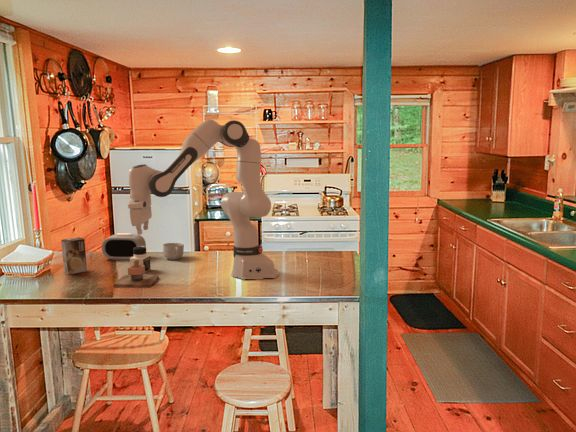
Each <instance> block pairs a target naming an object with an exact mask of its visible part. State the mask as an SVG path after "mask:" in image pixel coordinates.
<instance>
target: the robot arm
mask: <svg viewBox="0 0 576 432" xmlns="http://www.w3.org/2000/svg"><path fill="white" fill-rule="evenodd" d="M217 143H220V144H222V145H223V146H226V147H229V148H235V149H236V152H237V153H236V154H237V156H236V168H235V169H236V170H235V179H236V181H237V182H238V183H240V185H241V186H242V188H243V192H239V191H231V192H227V193H225V194H224V195H223V196H222V198H221V201H220V206H221V209H222V211H223V212H224V213H225V214H226V215H227V217H228V218H229V220H230V222H231V225H232V230H233V240H234V241H233V242H234V243H233V248H232V249H233V250H232V254H233V266H232V271H231V274H230V275H231V276H232V277H233V276H234V278H236V277H238V278H237V279H240V278H241V279H240V280H242V279H256V280H264V279H263V278H274V279H276V278H275V277H277V276H278V275H279V276H280V271H279V270H278V269H276V268H275V264H274V261H273V260H272V259H271V258H270V257H269V256H267V255H266V254H264V253H263V251H264V248H263V246H262V245H260V244H259V230H258V228H257V226H256V225H255V224H253V223H252V221H251V220H250V218H262V217H267V216H268V215H269V214H270V212H271V209H272V202H271V200H270V198H269V196H268V195H267V194H266V193H265V192H264V190H263V186H262V182H261V163H262V152H261V149H262V148H261V145H260V143H259V141H258V140H257V139H254V138H250V135H249V133H248V131H247V129H246V127H245V125H244V124H243V123H242V122H241V121H238V120H229V121H227V122H226V123H225V124H222V125H221V124H219V123H218V122H217V121H215V120H213V119H206V120H204V121H203V122H201V123H200V124H199V125H198V126H197V127H195V128H194V129H193V130H192V131H191V132H190V133H189V134H188V135H187V136H186V138H185V139H184V141H183V143H182V144H181V149H180V153H179V154H178V155H177V157H176V158H175V160H174V161H173V162H172V163H171V164H170V165H169V166H168V167H167V168H166V169H165V170H164V171H161V170H157V169H155V168H152V167H150V166H149V165H147V164H146V163H145V164H143V163H142V164H137V165H134V166H132V167H130V169H129V170H128V186H129V191H130V193H129V202H128V204H127V209H129V217H130V219H129V220H130V223H131V226H132V227H135V229H136V232H137V233H136V235H141V236H142V234H143V231H148V230H149V220H150V219H151V218H152V216H153V215H152V207H151V206H152V195H151V193H152V194H153V195H154V196H156V197H159V198H163V197H164V198H165V197H168V196H169V195H170V194H171V193H172V192H173V191H174V188H175V185H176V182H177V181H178V179H179V178H180V177H181V176H182V175H183V174H184V173H185V172H186V171H187V170H188V169H189V168H190V166H191V165H192V164H194V163H195V162H197V161H198V160H199V159H201V158H202V157H203V156H205V155H206V154H207V153H208V152H209V151H210V150H211V149H212V148H213V146H214V145H215V144H217ZM142 225H143V226H142ZM142 228H143V229H142ZM279 276H278V277H279ZM278 277H277V278H278Z"/></svg>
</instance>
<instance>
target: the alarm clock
mask: <svg viewBox="0 0 576 432" xmlns="http://www.w3.org/2000/svg"><path fill="white" fill-rule="evenodd" d="M101 243H102V244H101V252H102V254H103V256H104V257H105V258H107V259H110V260H111V261H130V258H131V257H133V256H134V255H133V248H134V247H137V246H144V247H146V248H147V244H146V240H145V238H144V237H143V236H142V234H141V235H138V234H137V233H135V234H134V233H133V234H132V233H130V232H129V233H127V232H126V233H123V232H121V233H119V232H118V233H115V234H112V235H110V236H109V237H107V238H105V239H104V240H103V241H102V242H101Z"/></svg>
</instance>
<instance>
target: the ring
mask: <svg viewBox="0 0 576 432" xmlns="http://www.w3.org/2000/svg"><path fill="white" fill-rule="evenodd" d="M144 272H145V265H139V268H134V267H133V265H131V266H129V267H127V275H142V274H145V273H146V272H145V273H144Z"/></svg>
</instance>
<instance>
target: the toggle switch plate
mask: <svg viewBox="0 0 576 432" xmlns="http://www.w3.org/2000/svg"><path fill="white" fill-rule="evenodd" d="M133 267H134V268H139V260H133ZM143 274H144V273H143ZM143 274H142V275H128V274H127V275H126V274H125V275H123V276H121V278H119V279H118V280H117V281H116V282H114V283H113V287H114V288H151V287H152V286H154V284H155V283H156V282H157V281H158V280H159V278H160V275H155V274H154V275H153V274H152V275H149V274H148V275H143Z"/></svg>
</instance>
